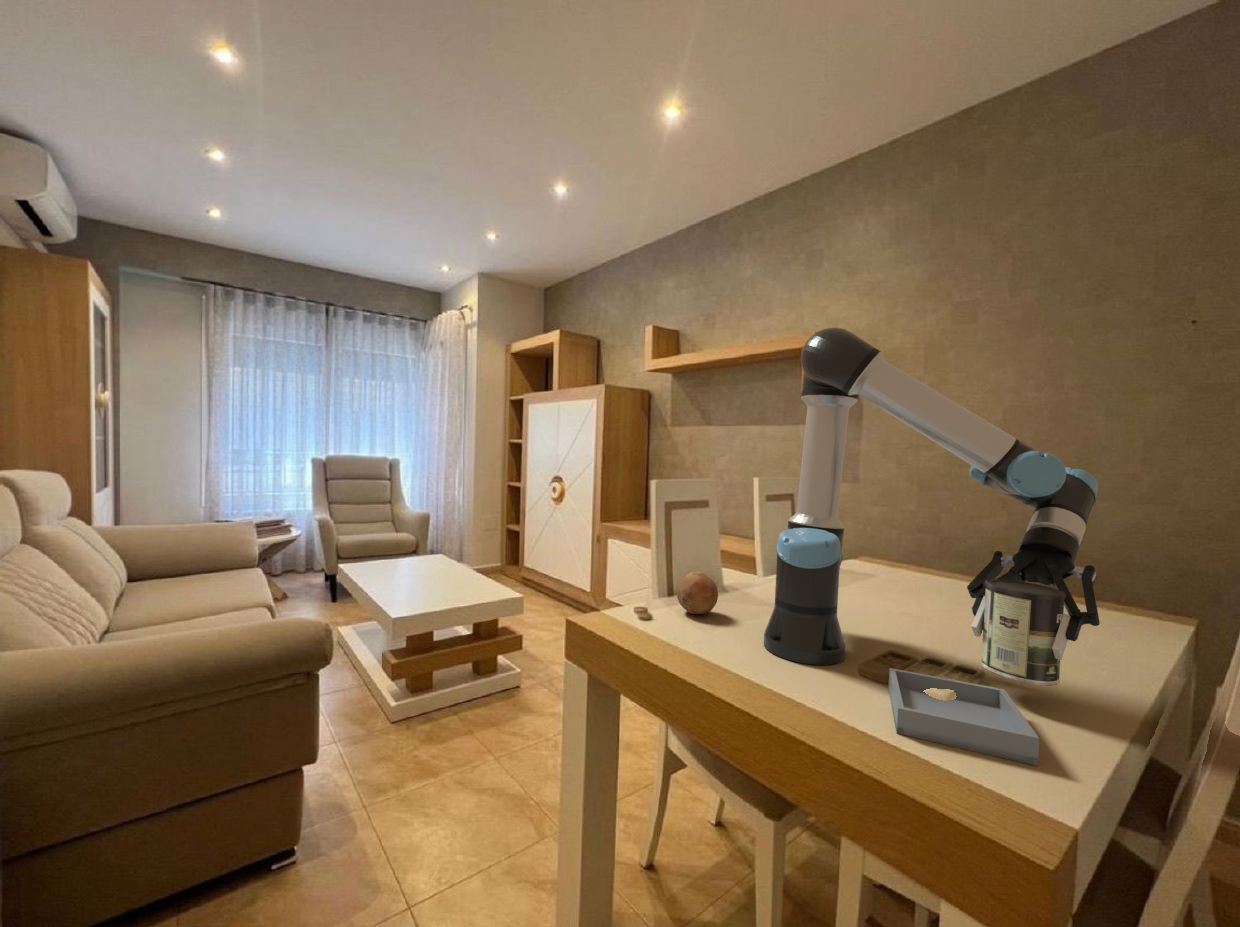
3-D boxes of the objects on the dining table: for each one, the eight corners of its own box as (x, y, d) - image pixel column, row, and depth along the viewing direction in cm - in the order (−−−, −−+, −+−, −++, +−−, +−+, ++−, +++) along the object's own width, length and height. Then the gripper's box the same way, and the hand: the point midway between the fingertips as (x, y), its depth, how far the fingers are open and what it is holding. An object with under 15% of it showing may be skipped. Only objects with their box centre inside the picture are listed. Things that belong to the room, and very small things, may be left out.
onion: (723, 613, 123) (725, 571, 123) (707, 623, 114) (709, 578, 114) (687, 605, 128) (689, 565, 128) (669, 614, 120) (671, 572, 120)
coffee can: (1052, 670, 84) (1058, 586, 84) (1066, 693, 76) (1072, 599, 76) (977, 654, 90) (982, 575, 90) (981, 674, 81) (987, 586, 81)
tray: (896, 733, 70) (897, 708, 70) (888, 688, 84) (889, 667, 84) (1038, 766, 63) (1039, 738, 63) (1003, 712, 78) (1004, 689, 78)
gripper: (1144, 566, 82) (1113, 683, 73) (982, 542, 101) (942, 633, 92) (1139, 535, 79) (1107, 653, 70) (973, 516, 97) (931, 608, 89)
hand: (1014, 642), depth 81 cm, fingers closed on coffee can, 10 cm apart
